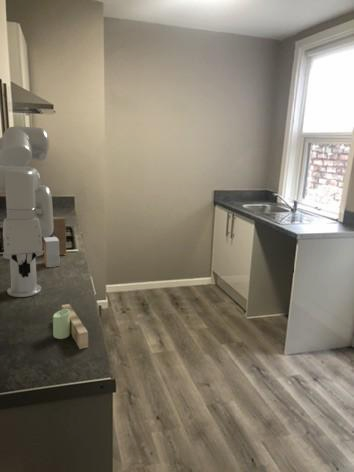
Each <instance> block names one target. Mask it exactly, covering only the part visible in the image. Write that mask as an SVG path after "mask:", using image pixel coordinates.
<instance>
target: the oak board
mask: <svg viewBox="0 0 354 472" xmlns="http://www.w3.org/2000/svg"><path fill="white" fill-rule="evenodd" d="M63 309H69V310H70V335H71V336H72V338H73V340H74V341H75V344H76V346H77V347H78V348H79V350H82V349H86V348H89V331H88V330H87V328H86V327H85V326H84V324H83V322H82V321H81V319H80V318H79V317H78V315H77V314H76V312H75V311H74V309H73V308H72V306H71V305H70V303H68V304H67V303H66V304H62V305H61V310H63Z"/></svg>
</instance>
